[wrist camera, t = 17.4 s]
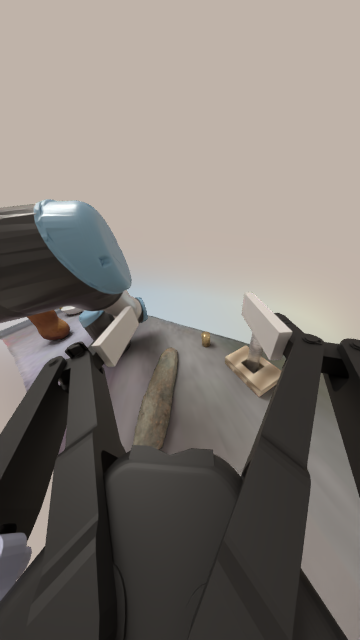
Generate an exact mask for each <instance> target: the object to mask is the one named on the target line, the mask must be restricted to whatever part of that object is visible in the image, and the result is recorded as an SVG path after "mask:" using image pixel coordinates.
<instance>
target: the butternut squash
mask: <svg viewBox="0 0 360 640" xmlns="http://www.w3.org/2000/svg"><path fill="white" fill-rule="evenodd" d="M27 318H29V319H30V321H31V322H32V323H33V324H34V325H35V326H36V327H37V329H38V332H39V334H40V335H41V336H42V337H43V338H44V339H47V340H58V339H63V338H65V337H66V336H67V335H68V334H69V331H70V327H69V325H68V324H67V323H66V322H65V321H63V320H61V319H60V318H58V317H57V314H56V312H55V311H54V310H51V311H47V312H43V313H39V314H35V315H32V316H27Z"/></svg>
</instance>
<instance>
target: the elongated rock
mask: <svg viewBox="0 0 360 640" xmlns="http://www.w3.org/2000/svg"><path fill="white" fill-rule="evenodd" d="M177 353H178V352H177V350H175V349H174V348H172V347H171V348H168V349H166V350H165V351H164V352H163V353H162V354H161V356H160V359H159V362H158V364H157V366H156V369H155V370H154V374H153V377H152V379H151V382H150V383H149V387H148V390H147V391H146V394H145V395H144V397H143V400H142V405H141V407H140V408H141V410H140V411H139V415H138V422H137V426H136V428H135V438H134V443H133V445H144V446H152V447H154V448H156V449H158V450H159V449H160V448H162V446H163V440H164V438H165V436H166V430H167V426H168V421H169V419H170V411H171V404H172V396H173V387H174V383H175V377H176V375H177V363H178V356H177Z"/></svg>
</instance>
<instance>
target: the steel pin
mask: <svg viewBox="0 0 360 640" xmlns="http://www.w3.org/2000/svg"><path fill="white" fill-rule="evenodd" d="M262 353H263V348H262V347H261V345H260V343H259V342H258V340H257V339H256V337H255V335H254V334H253V332H252V337H251V342H250V348H249V353H248V358H247V363H246V368H247V369H248V370H250V371H251V372H252V373H253V374H254V373H256V372H257V371H258V367H259V364H260V360H261V356H262Z"/></svg>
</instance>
